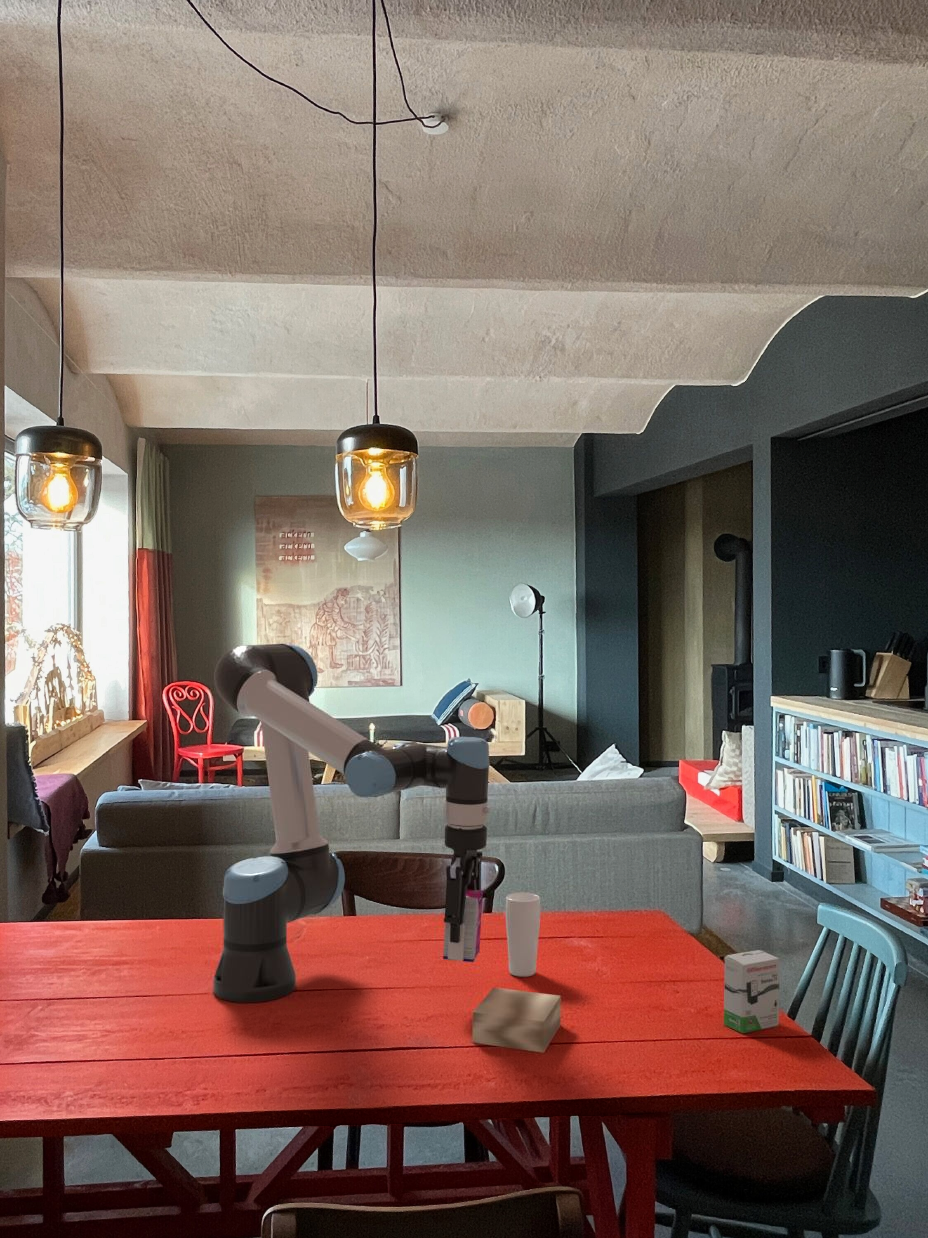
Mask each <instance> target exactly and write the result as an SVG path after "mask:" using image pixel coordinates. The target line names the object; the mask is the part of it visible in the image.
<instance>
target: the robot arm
mask: <svg viewBox="0 0 928 1238" xmlns="http://www.w3.org/2000/svg"><path fill="white" fill-rule="evenodd" d="M213 673H214V674H213V683H214V686H215V690H216V691H217V694H218V695H219V697H220V699H222V700H223V702H225V703H226V704H227V705H228V706H229V707H230V708H232V709H233V710H235V711H236V712H238V713H239V714H241V715H243V716H244V717H254V718H255V719H257V720H258V721H259V722H260V725H261V733H262V739H263V740H262V741H263V748H264V755H265V764H266V770H267V771H266V772H267V779H268V786H269V787H268V788H269V794H270V802H271V803H270V804H271V810H272V817H273V825H274V833H275V843H274V844H273V846H272V848H271V849H270V850H269V854H270V856H266V855H265V856H258V857H256V858H253V857H251V858H247V859H243V860H240V861H238V862H236V863H234V864H232V865H231V866H230V867H229V868H228V869H227V870H226V872H225V874H224V877H223V878H224V880H223V888H222V896H223V897H222V898H223V899H222V903H223V906H222V907H223V911H222V912H223V913H222V914H223V916H222V917H223V919H222V920H223V921H222V922H223V924H222V925H223V926H222V927H223V932H222V933H223V934H222V935H223V942H222V943H223V944H222V945H223V946H222V952H221V954H220V958H219V961H218V965H217V966H216V970H215V973H214V977H213V982H212V983H213V989H212V990H213V994H214V995H215V996H216V997H218V998H220V999H222V1000H224V1001H230V1002H234V1003H261V1002H268V1001H272V1000H276V999H280V998H283V997H285V996H287V995H289V994H291V993H292V992H293V991H294V990H295V989H296V987H297V985H296V984H297V981H296V980H297V979H296V978H297V976H296V970H295V968H294V965H293V961H292V959H291V955H290V951H289V948H288V944H287V943H288V941H287V937H288V936H287V935H288V932H287V928H288V925H287V924H288V923H292V922H294V921H297V920H300V919H302V918H305V917H308V916H311V915H317V914H319V913H321V912H323V911H324V910H326V909H328V908H330V907H331V906H333V905H334V904H335V903H337V901H338V899H339V898H341V895H342V893H343V890H344V886H345V879H346V878H345V877H346V876H345V870H344V866H343V863H342V861H341V859H339V858H338V856H337V854H336V853H334V852H333V851H331V850H330V846H329V841H328V840H327V839H325V838H324V837H323V836H322V835H321V834H320V830H319V829H320V827H319V821H318V820H319V819H318V814H317V813H318V812H317V805H316V797H315V790H314V784H313V783H314V782H313V775H312V769H311V762H310V761H311V760H310V754H312V755H313V756H315V757H317V758H318V759H319V760H320V761H323V763H325V764H327V765H329V767H332V768H333V769H335V770H336V771H338V772H339V773H340V774H342V775H343V776H344V778H345V782H346V785H348V787H349V789H350V791H351V792H352V793H353V795H356V796H358V797H361V798H377V797H382V796H384V795H388V794H392V793H395V792H400V791H404V790H409V789H413V788H416V787H430V788H438V789H445V806H444V807H445V811H444V821H445V823H446V825H445V826H444V846H446V847H447V848H448V849H451V850H452V851H453V855H452V857H451V859H450V861H451V862H450V865H446V867H445V870H446V871H445V873H446V884H445V885H446V886H445V902H444V903H445V904H444V905H445V906H444V907H445V908H444V918H443V923H444V924H445V923H449V936H448V959H451V960H450V961H456V960H458V962H464V961H463V960H464V934H465V923H463V916H464V908H465V900H466V892H467V889H469V890H481V891H482V862H483V856H484V855H483V851H480V850H483V849H484V848H486V847H487V836H488V834H487V833H488V829H487V827H486V824H487V822H488V814H490V813H491V809H490V808H489V807H488V801H489V800H488V799H489V795H488V794H489V792H488V791H489V773H490V772H489V771H490V766H491V763H490V745H489V743H488V741H487V740H486V739H484V738H481V737H477V736H455V737H451V738H449V739H448V741H447V745H446V746H441V745H433V744H427V743H419V742H417V741H410V742H409V741H408V742H406V741H405V742H404V741H400V742H397V743H395V744H394V745H393V747H392V748H389V749H388V748H387V749H385V748H382V747H381V746H379V745H377V744H376V743H374V742H372V741H371V740H369V739H368V738H366V736H365V737H364V736H363V735H362V734H360V733H359V732H357V731H355V730H353V729H352V727H351V728H350V727H349V726H347V725H346V724H344V723H342V722H341V721H340V720H338V719H337V718H335V717H334V716H331V715H330V714H328V713H327V712H326V711H324V710H323V709H321V708H319V707H317V706H316V705H314V704H312V703H311V702H310V696H312V694H313V693H314V691H315V688H316V687H317V685H318V681H319V680H318V677H319V676H318V675H319V674H318V669H317V665H316V663H315V661H314V659H313V658H312V656H311V654H309V652H308V651H306V650H305V649H304V648H303V647H300V646H298V645H295V644H287V643H273V644H271V643H270V644H269V643H268V644H241V645H237V646H234V647H232V648H231V649H228V650H227V651H226V652H225V653H223V655H222V656H221V657H220V658H219V660H218V661H217V664H216V665H215V668H214V672H213Z"/></svg>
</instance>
